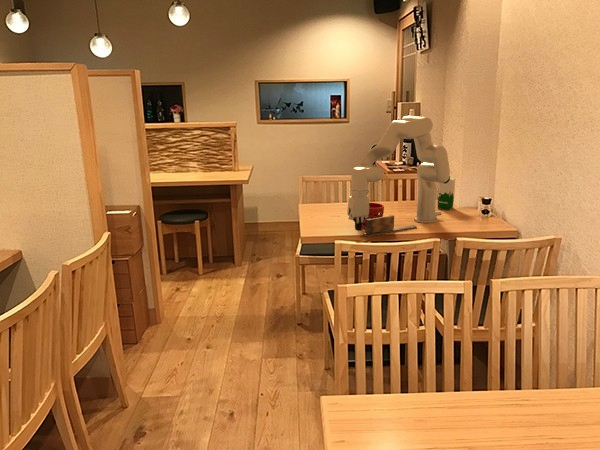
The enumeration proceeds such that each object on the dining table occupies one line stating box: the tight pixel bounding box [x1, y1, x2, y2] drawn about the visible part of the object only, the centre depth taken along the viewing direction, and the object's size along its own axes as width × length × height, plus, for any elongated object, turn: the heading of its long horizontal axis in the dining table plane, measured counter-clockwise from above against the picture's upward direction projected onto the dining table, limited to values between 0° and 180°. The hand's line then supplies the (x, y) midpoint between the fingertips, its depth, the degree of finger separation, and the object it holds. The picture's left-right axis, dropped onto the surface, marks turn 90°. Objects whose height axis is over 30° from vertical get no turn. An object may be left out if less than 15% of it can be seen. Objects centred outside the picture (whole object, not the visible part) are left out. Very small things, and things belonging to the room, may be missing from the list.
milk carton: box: [437, 176, 456, 211], centre depth 294 cm, size 9×9×20 cm
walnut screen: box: [364, 215, 395, 234], centre depth 248 cm, size 16×2×7 cm, turn 117°
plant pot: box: [362, 201, 385, 229], centre depth 259 cm, size 13×13×12 cm
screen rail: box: [363, 224, 418, 238], centre depth 252 cm, size 31×3×1 cm, turn 117°
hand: (358, 230), depth 242 cm, fingers closed
